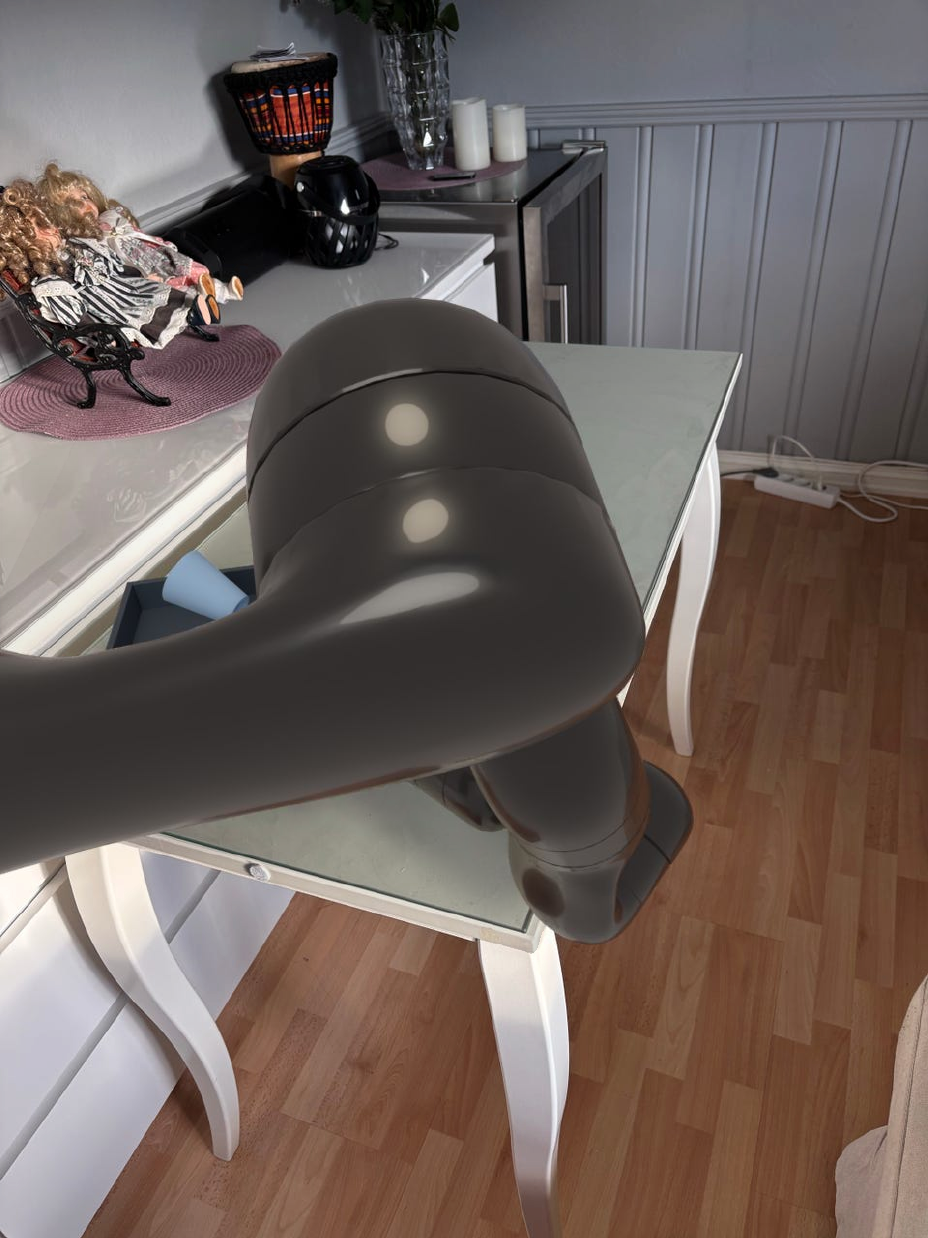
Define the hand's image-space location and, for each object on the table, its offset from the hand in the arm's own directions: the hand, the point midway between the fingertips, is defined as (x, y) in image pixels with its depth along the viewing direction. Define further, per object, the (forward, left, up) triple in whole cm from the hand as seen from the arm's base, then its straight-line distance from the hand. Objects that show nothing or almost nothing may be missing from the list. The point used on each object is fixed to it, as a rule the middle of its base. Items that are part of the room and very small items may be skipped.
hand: (264, 615), depth 70 cm
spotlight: (-6, +7, -9) cm, 13 cm away
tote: (-6, +7, -9) cm, 13 cm away
